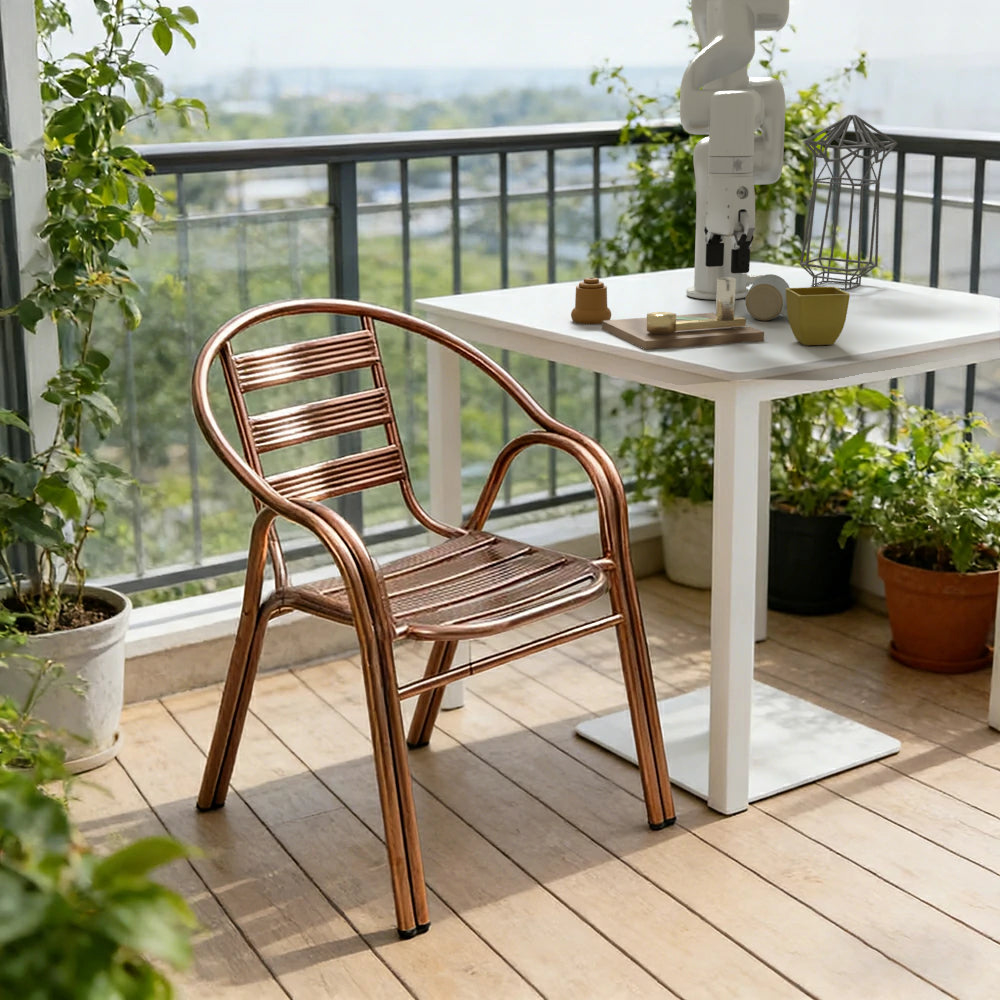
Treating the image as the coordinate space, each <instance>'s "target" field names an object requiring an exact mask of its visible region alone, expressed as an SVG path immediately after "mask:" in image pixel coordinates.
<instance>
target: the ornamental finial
mask: <svg viewBox="0 0 1000 1000" xmlns="http://www.w3.org/2000/svg"><path fill="white" fill-rule="evenodd" d="M574 299H575V301H574V303H575V304H574V308H572V310H571V313H570V318H571V320H572V321H573V322H574V323H575V322H576V324H579V323H580V325H602V321H606V320H612V319H611V318H612V311H611V309H610V308H609V307H608V287H607V285H605V284H604V282H602V281H600V279H599V278H598V277H585V278H583V281H580V282H579V283H578V285H577V286H575V298H574Z"/></svg>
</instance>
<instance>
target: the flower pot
mask: <svg viewBox="0 0 1000 1000" xmlns="http://www.w3.org/2000/svg"><path fill="white" fill-rule="evenodd" d="M838 288H839V287H836V286H823V287H811V286H810V287H809V286H808V287H806V286H805V287H790V288H786V302H787V314H788V318H787V319H788V323H789V327H790V329H791V331H792V334H793V335H794V338H795V340H796V341H797V342H799V343H800V344H802V345H804V346H806V347H807V346H808V347H810V346H825V345H826V346H830V345H834V344H835V343H836V342H837V340H838V339H839V337H840V336H841V334H842V332H843V329H844V328H845V324H846V319H847V314H848V308H849V303H850V297H851V294H850V293H849V292H847V291H845V290H840V289H838Z"/></svg>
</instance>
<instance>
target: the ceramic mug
mask: <svg viewBox="0 0 1000 1000" xmlns="http://www.w3.org/2000/svg"><path fill="white" fill-rule="evenodd" d="M786 288H791V287H790V285H789V284H788V282H787V281H786V280H785V279H784V278H782V277H781V276H779V275H776V274H770V273H769V274H764V275H763V276H761V277H759V278H758V279H757V280H756V281H755V282H754V283H753V284H751V286H750V287H749V289H748V290H749V291H748V293H747V295H746V297H745V300H744V301H745V302H744V303H745V309H746V310H747V312H748V314H749V315H750V316H751V317H752V318H754V319H755V320H758V321H762V322H764V321H765V322H766V321H767V322H769V321H772V320H774V319H776V318H778V317H779V316H780V315H781V316H782V317H783V318H786V319H788V314H787V302H786Z"/></svg>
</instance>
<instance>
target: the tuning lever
mask: <svg viewBox="0 0 1000 1000" xmlns="http://www.w3.org/2000/svg"><path fill="white" fill-rule="evenodd" d="M735 290H736V279H735V278H729V277H723V278H717V297H716V302H715V303H716V305H715V306H716V307H715V314H716V319H705V320H691V321H678V322H676V315H677V313H675V312H670V311H669V312H667V311H656V312H655V311H654V312H648V313H647V314H646V318H647V332H650V333H658V334H665V333H673V332H676V331H681V330H695V329H708V328H721V327H734V326H746V325H747V318H745V317H743V316H735V310H736V299H735Z"/></svg>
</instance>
